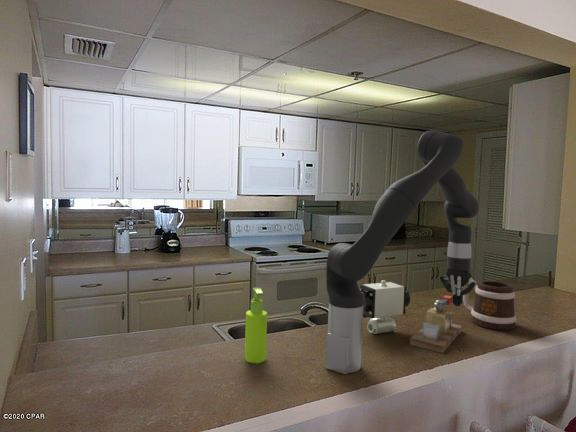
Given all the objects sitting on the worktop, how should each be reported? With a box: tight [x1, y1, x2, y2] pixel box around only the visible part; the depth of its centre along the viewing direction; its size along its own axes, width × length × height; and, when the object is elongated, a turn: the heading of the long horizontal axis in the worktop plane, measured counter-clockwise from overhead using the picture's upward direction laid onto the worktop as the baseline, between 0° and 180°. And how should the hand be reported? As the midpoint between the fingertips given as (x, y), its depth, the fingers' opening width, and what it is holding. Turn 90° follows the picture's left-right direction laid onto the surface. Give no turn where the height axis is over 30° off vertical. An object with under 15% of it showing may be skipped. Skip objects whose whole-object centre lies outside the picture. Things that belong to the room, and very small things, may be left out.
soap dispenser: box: [244, 287, 268, 364], centre depth 111 cm, size 6×7×20 cm
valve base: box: [409, 323, 463, 354], centre depth 133 cm, size 24×10×2 cm, turn 144°
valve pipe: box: [422, 307, 453, 341], centre depth 133 cm, size 18×6×7 cm, turn 144°
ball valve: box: [359, 279, 411, 335], centre depth 137 cm, size 18×8×18 cm, turn 115°
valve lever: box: [433, 295, 453, 312], centre depth 137 cm, size 13×3×3 cm, turn 144°
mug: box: [462, 280, 517, 331], centre depth 150 cm, size 20×15×15 cm
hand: (457, 305), depth 139 cm, fingers closed
